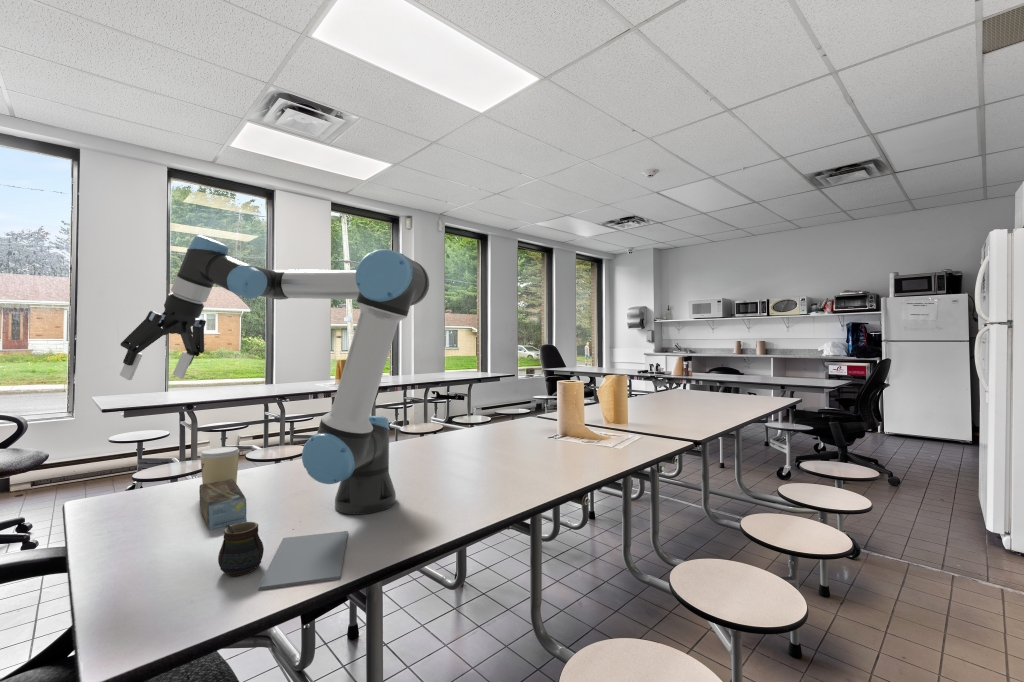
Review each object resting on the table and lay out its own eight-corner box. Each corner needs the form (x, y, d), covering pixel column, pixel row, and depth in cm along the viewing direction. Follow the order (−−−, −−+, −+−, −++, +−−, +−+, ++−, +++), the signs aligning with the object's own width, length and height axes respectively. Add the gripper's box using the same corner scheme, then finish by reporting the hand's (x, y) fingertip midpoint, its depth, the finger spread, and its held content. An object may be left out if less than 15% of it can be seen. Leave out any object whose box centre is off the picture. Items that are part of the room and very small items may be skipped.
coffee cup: (212, 487, 132) (212, 446, 133) (245, 486, 133) (245, 446, 133) (192, 498, 123) (192, 454, 123) (228, 497, 124) (228, 453, 124)
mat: (347, 533, 100) (347, 530, 100) (339, 578, 80) (339, 576, 80) (283, 540, 96) (283, 537, 96) (258, 590, 77) (258, 587, 77)
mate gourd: (270, 559, 88) (270, 508, 88) (253, 580, 80) (253, 523, 80) (230, 562, 87) (231, 509, 87) (209, 582, 79) (209, 525, 80)
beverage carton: (206, 531, 102) (206, 502, 102) (198, 508, 117) (198, 482, 117) (247, 522, 107) (247, 494, 107) (234, 501, 122) (234, 476, 122)
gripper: (216, 299, 124) (185, 370, 124) (125, 282, 99) (86, 371, 99) (238, 310, 122) (207, 381, 122) (151, 295, 98) (112, 385, 98)
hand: (153, 377), depth 111 cm, fingers open, 13 cm apart
